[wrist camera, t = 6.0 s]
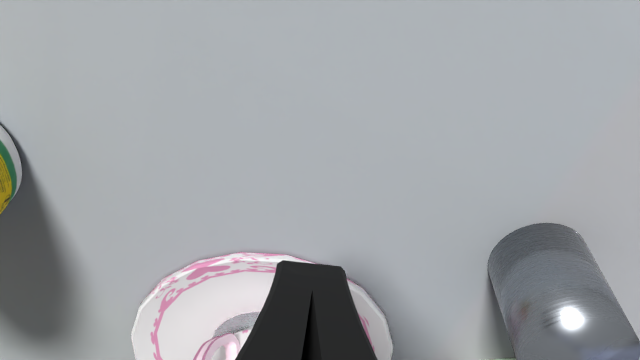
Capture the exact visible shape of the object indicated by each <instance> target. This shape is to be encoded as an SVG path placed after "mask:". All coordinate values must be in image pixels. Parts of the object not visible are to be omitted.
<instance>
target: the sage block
mask: <svg viewBox="0 0 640 360" xmlns="http://www.w3.org/2000/svg"><path fill="white" fill-rule="evenodd" d="M489 360H516V358H505V359H489Z"/></svg>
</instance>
